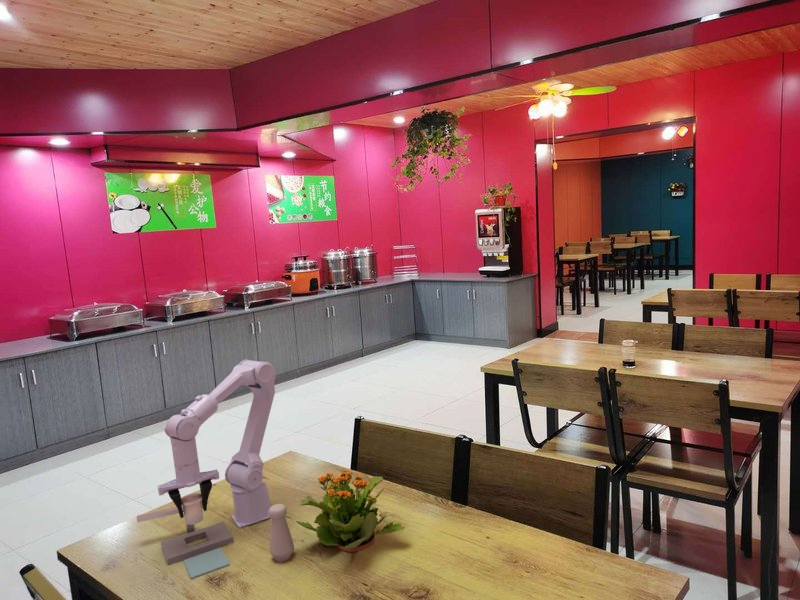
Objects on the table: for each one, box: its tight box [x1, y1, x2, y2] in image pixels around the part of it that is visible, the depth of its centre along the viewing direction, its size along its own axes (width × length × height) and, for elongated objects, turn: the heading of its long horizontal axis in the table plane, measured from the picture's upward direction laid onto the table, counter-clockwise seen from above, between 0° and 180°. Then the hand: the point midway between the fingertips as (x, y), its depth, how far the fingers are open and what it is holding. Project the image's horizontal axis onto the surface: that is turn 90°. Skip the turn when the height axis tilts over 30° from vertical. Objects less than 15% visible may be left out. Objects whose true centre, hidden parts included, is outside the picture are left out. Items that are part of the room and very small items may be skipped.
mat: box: [183, 547, 231, 580], centre depth 140 cm, size 9×9×1 cm
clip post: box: [185, 523, 196, 534], centre depth 155 cm, size 2×2×6 cm
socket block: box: [160, 521, 234, 566], centre depth 148 cm, size 16×10×2 cm, turn 121°
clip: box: [136, 505, 184, 523], centre depth 153 cm, size 14×2×1 cm, turn 110°
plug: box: [181, 492, 204, 525], centre depth 147 cm, size 5×5×6 cm
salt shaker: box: [268, 503, 295, 563], centre depth 139 cm, size 6×6×13 cm
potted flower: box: [295, 471, 406, 553], centre depth 142 cm, size 25×24×18 cm
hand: (193, 512), depth 147 cm, fingers closed on plug, 5 cm apart
